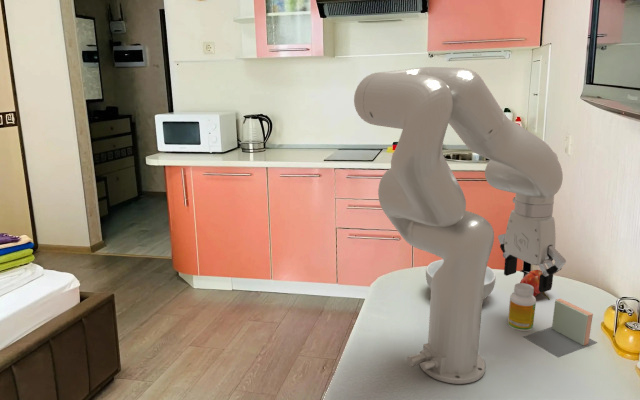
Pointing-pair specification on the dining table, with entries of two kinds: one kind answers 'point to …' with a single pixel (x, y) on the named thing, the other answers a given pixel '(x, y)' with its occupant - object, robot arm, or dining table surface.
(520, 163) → the robot arm
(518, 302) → the supplement bottle
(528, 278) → the pomegranate
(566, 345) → the rubber mat
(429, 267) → the cereal bowl
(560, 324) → the tile
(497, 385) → the dining table surface
